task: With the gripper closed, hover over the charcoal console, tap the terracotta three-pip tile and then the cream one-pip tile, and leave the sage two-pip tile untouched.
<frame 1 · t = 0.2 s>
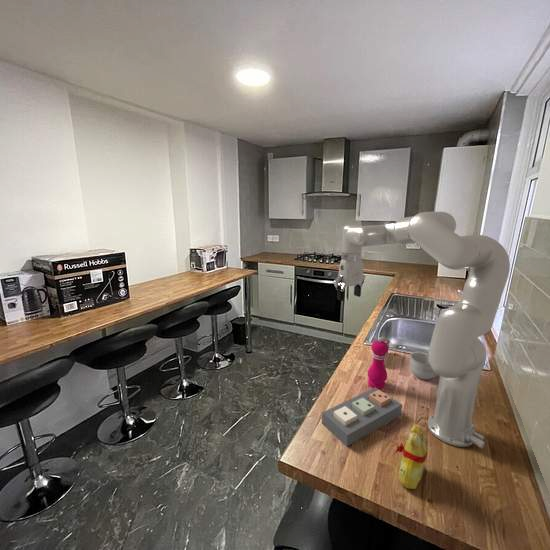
hand: (348, 297, 120), 31 cm above the counter, tool pointing down, fingers open, 9 cm apart
tile one: (344, 418, 90), point 4 cm above the counter, slide at 0.0 cm
console: (362, 419, 95), on the counter
pink bowling pin: (376, 385, 113), on the counter
tin: (381, 359, 132), on the counter
tile two: (362, 408, 94), point 4 cm above the counter, slide at 0.0 cm
chocolate bunny: (408, 473, 76), on the counter
teacup: (426, 377, 119), on the counter
tile three: (379, 400, 98), point 4 cm above the counter, slide at 0.0 cm
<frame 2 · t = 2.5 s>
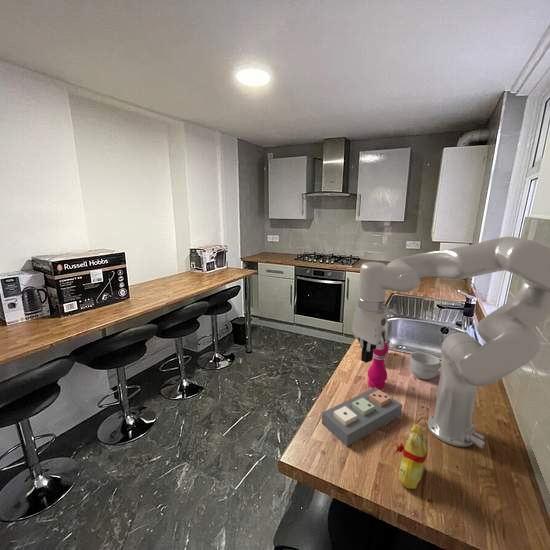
hand: (366, 360, 90), 21 cm above the counter, tool pointing down, fingers closed
nothing on the counter moved.
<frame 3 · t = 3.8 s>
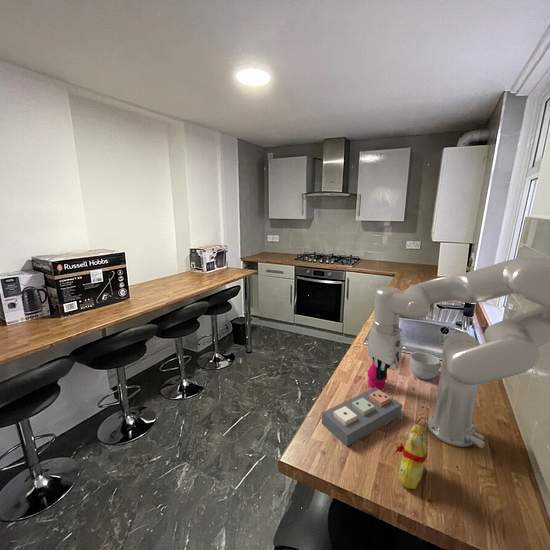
hand: (380, 378, 96), 12 cm above the counter, tool pointing down, fingers closed
nothing on the counter moved.
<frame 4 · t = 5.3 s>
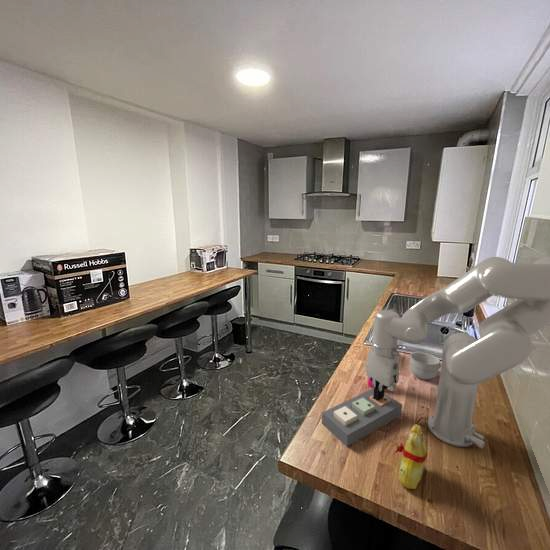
hand: (378, 398, 98), 5 cm above the counter, tool pointing down, fingers closed
tile three: (379, 403, 99), point 3 cm above the counter, slide at 1.1 cm, touching gripper
everything else where it was.
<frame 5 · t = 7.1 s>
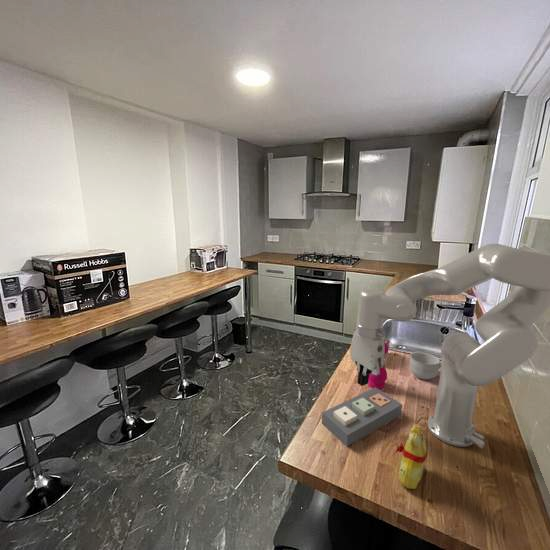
hand: (362, 383, 93), 13 cm above the counter, tool pointing down, fingers closed
tile three: (379, 403, 99), point 2 cm above the counter, slide at 1.3 cm
everything else where it was.
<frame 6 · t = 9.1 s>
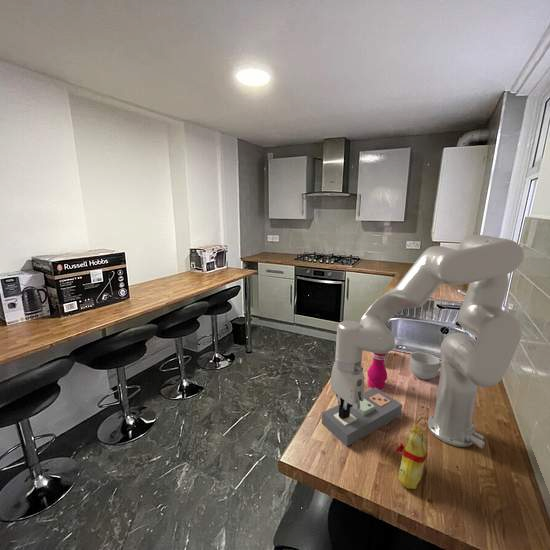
hand: (344, 416, 90), 4 cm above the counter, tool pointing down, fingers closed
tile one: (344, 421, 91), point 3 cm above the counter, slide at 1.2 cm, touching gripper
everything else where it was.
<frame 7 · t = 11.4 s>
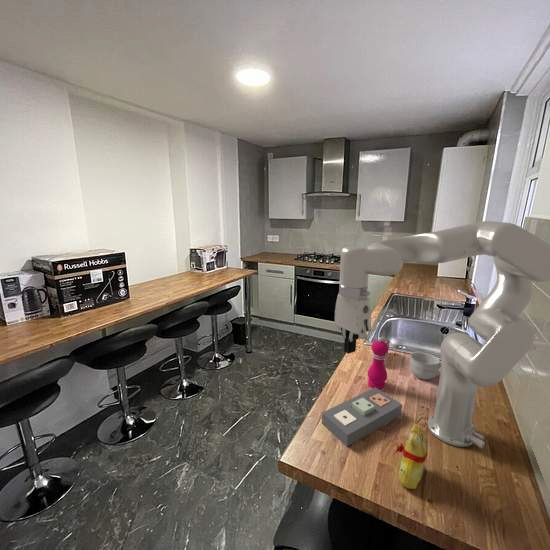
hand: (349, 351, 85), 26 cm above the counter, tool pointing down, fingers closed
tile one: (344, 421, 91), point 2 cm above the counter, slide at 1.3 cm
everything else where it was.
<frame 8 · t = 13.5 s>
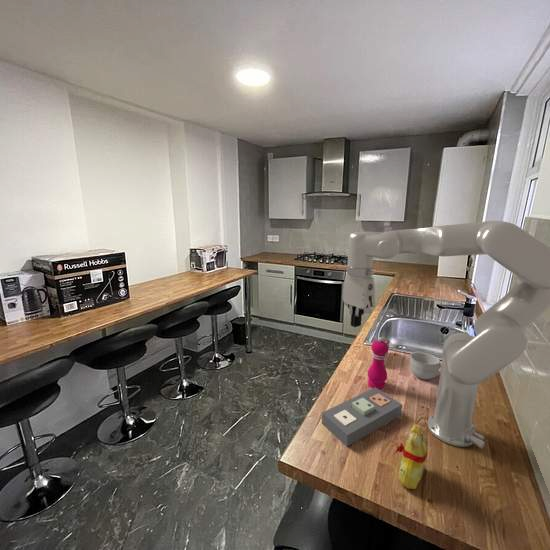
hand: (355, 325, 97), 29 cm above the counter, tool pointing down, fingers closed
nothing on the counter moved.
at the end: tile three slide at 1.3 cm; tile one slide at 1.3 cm; tile two slide at 0.0 cm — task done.
